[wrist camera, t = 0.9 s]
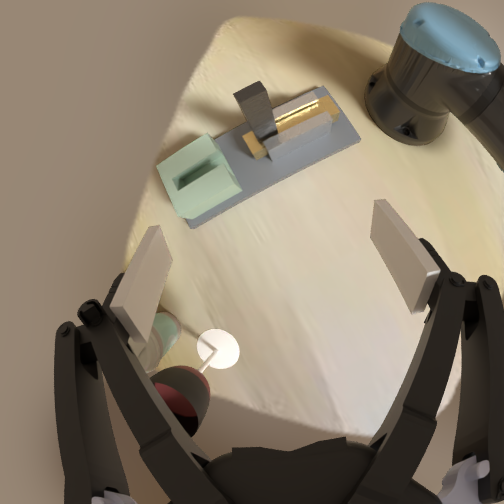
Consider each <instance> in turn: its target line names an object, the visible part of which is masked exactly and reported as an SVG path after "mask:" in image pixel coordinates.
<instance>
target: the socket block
mask: <svg viewBox="0 0 504 504" xmlns="http://www.w3.org/2000/svg"><path fill="white" fill-rule="evenodd" d="M156 167H157V170H158V172H159V174H160V177H161V179H162V181H163V184H164V186H165V188H166V191H167V193H168V195H169V197H170V200H171V202H172V204H173V206H174V209H175V211H176V213H177V215H178V217H182V218H187V219H194V218H196V217H198V216H199V215H201V214H203V213H204V212H206V211H208V210H210V209H211V208H213V207H215V206H216V205H218V204H220V203H222V202H223V201H225V200H227V199H229V198H231V197H232V196H234V195H236V194H238V193H239V192H241V191H243V190H242V188H241V186H240V184H239V183H238V181H237V179H236V177H235V175H234V173H233V171H232V169H231V167H230V166H229V164H228V162H227V160H226V158H225V156H224V154H223V153H222V151H221V149H220V147H219V145H218V144H217V143H216V142H215V141H214V140H213V138H212V137H211V136H210V135H209V134H208V133H206V134H204V135H203V136H201V137H199V138H198V139H196V140H195V141H193V142H191V143H190V144H188V145H187V146H185V147H183V148H182V149H180V150H179V151H177V152H176V153H174V154H173V155H171V156H170V157H168V158H167V159H165V160H164V161H162V162H161V163H160V164H158V165H157V166H156Z"/></svg>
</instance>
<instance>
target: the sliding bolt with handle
mask: <svg viewBox="0 0 504 504" xmlns="http://www.w3.org/2000/svg"><path fill="white" fill-rule="evenodd" d="M233 95H234V97H235V99H236V101H237V103H238V105H239V107H240V108H241V110H242V112H243V114H244V116H245V118H246V120H247V122H248V124H249V126H250V128H251V130H252V131H251V132H249V133H247V134H245V135H243V136H242V137H243V138H244V140H245V142H246V144H247V145H248V147H249V149H250V150H251V152H252V154H253V156H254V157H255V159H256V160H259V159H260V158H262V157H264V156H266V155H268V154H269V153H268V151H267V149H266V147H265V145H264V144H263V141H265V140H267V139H269V138H271V137H273V136H275V135H277V134H279V133H281V132H283V131H285V130H287V129H289V128H291V127H293V126H295V125H297V124H299V123H301V122H304V121H306V120H308V119H310V118H312V117H314V116H317V115H319V114H321V113H323V112H326V111H328V113H329V114H330V116H331V117H332V119H333V121H332V123H334V122H336V121H338V118H339V114H340V110H339V109H338V108H337V106H336V105H335V104H334V102H333V101H332V99H331V98H330V97H329V95H326V96H324V97H322V98H319V99H318V101H317V102H315V103H313V104H310V105H308V106H306V107H304V108H302V109H299V110H297V111H295V112H293V113H291V114H289V115H287V116H284V117H282V118H280V119H278V120H276V121H275V119H274V115H273V112H272V108H271V104H270V101H269V97H268V94H267V90H266V89H265V87H264V86H263V84H262V83H261V82H260V81H258V82H256V83H253V84H251V85H249V86H247V87H245V88H243V89H242V90H240V91H238V92H236V93H234V94H233Z"/></svg>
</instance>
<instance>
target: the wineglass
mask: <svg viewBox="0 0 504 504" xmlns="http://www.w3.org/2000/svg"><path fill="white" fill-rule="evenodd" d="M197 350H198V353H199V355H200V357H201V359H202V360H203V361H204V363H203V364H202V365H201V366H200V367H199V369H198V370H196V369H194V368H192V367H188V366H174V367H169V368H167V369H164V370H162V371H160V372H158V373H157V374H155V375H153V376H152V377H151V378H150V380H151V382H152V383H153V385H154V386H155V388H156V389H157V391H158V393H159V394H160V396H161V397H162V399H163V400H164V402H165V403H166V405H167V406H168V407H169V409H170V410H171V412H172V413H173V415H174V416H175V417H176V419H177V420H178V421H179V423H180V424H181V426H182V427H183V428H184V429H185V431H186V432H187V433H188V435H189V436H190V437H192V436H193V435H194V434H195V433H196V432H197V430H198V428H199V427H200V425H201V423H202V420H203V419H204V417H205V414H206V412H207V409H208V406H209V401H210V387H209V384H208V382H207V380H206V378H205V377H204V375H203V374H202V372H203V371H204V370H205V368H206V367H207V366H208V365H209V366H211V367H214V368H217V369H225V368H229V367H231V366H232V365H234V364H235V363H236V361H237V360H238V357H239V346H238V344H237V342H236V340H235V339H234V338H233V336H232V335H230V334H229V333H227V332H226V331H223V330H220V329H210V330H207V331H205V332H204V333H202V334H201V335H200V337H199V339H198V342H197Z"/></svg>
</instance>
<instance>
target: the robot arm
mask: <svg viewBox="0 0 504 504" xmlns="http://www.w3.org/2000/svg"><path fill="white" fill-rule="evenodd" d="M365 103H366V107H367V109H368V112H369V114H370V116H371V117H372V119H373V120H374V122H375V123H376V124H377V125H378V126H379V127H380V128H381V129H382V130H383V131H384V132H385V133H386V134H387V135H389V136H390V137H392V138H393V139H395V140H397V141H399V142H402V143H404V144H408V145H414V146H421V145H426V144H428V143H430V142H432V141H433V140H435V139H436V138H437V137H438V136H439V135H440V134H441V133H442V132H443V130H444V128H445V125H446V122H447V119H448V115H449V112H451V113H452V114H453V115H454V116H456V117H457V118H458V119H459V120H460V121H461V122H462V123H463V125H464V126H465V127H466V128H467V129H468V130H469V131H470V132H471V133H472V134H473V135H474V136H475V137H476V138H477V140H478V141H479V142H480V143H481V144H482V145H483V146H484V148H485V149H486V150H487V151H488V152H489V153H490V155H491V156H492V157H493V158H494V160H495V161H496V163H497V165H498V167H499V168H500V169H501V171H503V172H504V65H503V64H502V63H501V54H500V50H499V48H498V46H497V44H496V42H495V41H494V40H493V39H492V38H490V35H489V33H488V32H487V31H486V30H485V29H484V28H483V27H482V26H481V25H480V24H479V23H477V22H476V21H475V20H473V19H472V18H471V17H469V16H467V15H466V14H464V13H462V12H461V11H459V10H456V9H454V8H452V7H449V6H446V5H443V4H437V3H432V2H425V3H420V4H417V5H415V6H414V7H412V8H411V10H410V11H409V13H408V15H407V17H406V19H405V21H404V22H403V23H402V24H401V26H400V33H399V36H398V38H397V41H396V43H395V46H394V48H393V51H392V53H391V56H390V58H389V61H388V63H386V64H385V65H384V66H382V67H381V68H379V69H378V70H377V71H375V72H374V73H373V74H372V76H371V77H370V79H369V81H368V83H367V86H366V89H365ZM370 238H371V240H372V241H373V243H374V245H375V246H376V248H377V250H378V252H379V253H380V255H381V257H382V259H383V260H384V262H385V264H386V266H387V268H388V269H389V271H390V273H391V275H392V277H393V279H394V281H395V282H396V284H397V286H398V288H399V290H400V292H401V294H402V296H403V298H404V300H405V302H406V304H407V306H408V308H409V310H410V312H411V314H415V313H420V312H424V310H425V308H426V305H427V303H428V305H429V307H430V311H429V313H428V315H427V317H426V319H425V321H424V323H425V326H424V329H423V332H422V335H421V338H420V341H419V344H418V346H417V349H416V352H415V354H414V357H413V359H412V362H411V364H410V367H409V369H408V372H407V374H406V376H405V379H404V381H403V383H402V385H401V388H400V390H399V392H398V394H397V396H396V398H395V400H394V402H393V404H392V406H391V408H390V410H389V412H388V414H387V416H386V418H385V420H384V422H383V423H382V425H381V427H380V428H379V430H378V431H377V433H376V434H375V435H374V437H373V438H372V440H371V441H370V443H369V445H368V446H367V445H364V444H362V443H358V442H352V441H346V437H340V438H336V439H330V440H324V441H318V442H315V443H313V444H310V445H307V446H305V447H302V448H299V449H297V450H294V451H281V450H274V449H268V448H262V447H250V448H249V447H246V448H232V452H230V453H227V454H224V455H221V456H219V457H217V458H215V459H214V460H211V459H210V458H209V457H208V456H207V455H206V454H205V453H204V452H203V451H202V450H201V449H200V448H199V447H198V446H197V445H196V444H195V442H194V441H193V440H192V439H191V437H190V436H189V435H188V433H187V432H186V431H185V429H184V428H183V427H182V426H181V424H180V423H179V421H178V420H177V419H176V417H175V416H174V415H173V413H172V412H171V410H170V409H169V407H168V406H167V405H166V403H165V402H164V400H163V399H162V397H161V396H160V394H159V393H158V391H157V389H156V388H155V386H154V385H153V383H152V382H151V380H150V378H149V377H148V375H147V373H146V372H145V370H144V368H143V367H142V365H141V363H140V362H139V360H138V358H137V356H136V355H135V353H134V351H133V349H132V347H131V346H130V344H129V343H128V340H129V337H131V338H132V340H133V341H134V342H135V343H148V339H149V335H150V332H151V328H152V325H153V321H154V318H155V314H156V311H157V307H158V304H159V301H160V298H161V294H162V291H163V288H164V285H165V282H166V279H167V276H168V272H169V269H170V266H171V263H172V257H171V254H170V252H169V249H168V246H167V244H166V241H165V238H164V236H163V233H162V230H161V227H160V225H157V226H151V227H148V229H147V231H146V233H145V235H144V237H143V238H142V240H141V242H140V244H139V246H138V248H137V250H136V252H135V254H134V256H133V258H132V260H131V262H130V264H129V266H128V268H127V270H126V272H125V273H120V274H119V276H118V277H117V278H116V279H115V280H114V282H113V284H112V286H111V287H112V288H110V290H109V294H108V295H107V297H106V299H105V301H104V303H103V305H102V306H101V304H100V303H99V302H98V300H95V299H91V300H88V301H86V302H85V303H84V304H82V305H81V307H80V308H79V310H78V312H77V313H78V314H77V315H78V317H79V319H80V320H81V321H82V323H83V324H84V325H81V326H78V327H76V326H75V325H74V323H73V322H70V321H68V322H65V323H63V324H62V325H61V326H60V327H59V328H58V330H57V332H56V339H55V357H54V394H55V412H56V424H57V433H58V441H59V448H60V454H61V460H62V465H63V470H64V475H65V489H64V504H137V503H136V502H135V500H134V499H133V498H131V497H130V494H129V488H128V483H127V480H126V476H125V473H124V470H123V467H122V463H121V460H120V457H119V454H118V450H117V446H116V443H115V438H114V434H113V430H112V426H111V421H110V417H109V412H108V407H107V401H106V396H105V389H104V383H103V376H102V371H103V374H104V376H105V378H106V381H107V383H108V385H109V387H110V389H111V392H112V394H113V396H114V398H115V400H116V402H117V404H118V406H119V408H120V410H121V412H122V414H123V416H124V418H125V420H126V422H127V424H128V425H129V427H130V429H131V431H132V433H133V435H134V436H135V438H136V440H137V441H138V443H139V445H140V450H139V453H140V456H141V457H142V459H143V461H144V462H145V464H146V466H147V467H148V469H149V470H150V472H151V473H152V475H153V476H154V478H155V479H156V481H157V482H158V483H159V485H160V486H161V488H162V489H163V490H164V492H165V493H166V494H167V496H168V497H169V498H170V499H171V501H170V502H169V503H168V504H492V503H497V502H500V501H503V500H504V309H503V304H502V300H501V296H500V292H499V288H498V285H497V283H496V281H495V280H494V279H493V278H491V277H490V276H487V275H482V276H480V277H479V279H478V281H477V283H476V282H466V280H465V278H464V277H463V276H462V275H460V274H458V273H456V272H451V271H450V269H449V268H448V267H447V265H446V264H445V262H444V261H443V260H442V258H441V257H440V256H439V254H438V253H437V252H436V251H435V249H434V248H433V246H432V245H431V244H430V243H429V242H428V241H426V240H425V239H423V238H420V239H418V238H417V237H416V236H415V234H414V233H413V232H412V231H411V229H410V228H409V227H408V226H407V224H406V223H405V222H404V221H403V219H402V218H401V217H400V216H399V215H398V213H397V212H396V211H395V210H394V209H393V208H392V206H391V205H390V204H389V203H388V202H387V201H386V199H381V200H374V209H373V218H372V227H371V235H370ZM460 330H461V349H462V370H461V393H460V406H459V415H458V422H457V430H456V436H455V442H454V449H453V459H452V467H451V468H450V469H449V471H448V472H447V474H446V475H445V477H444V478H443V480H442V485H443V487H442V490H441V491H440V492H439V493H438V495H437V496H436V495H435V494H434V493H432V492H431V491H429V490H428V489H426V488H425V487H424V486H422V485H421V484H419V483H418V482H416V481H415V480H414V479H412V477H413V475H414V473H415V471H416V469H417V467H418V465H419V464H420V461H421V459H422V457H423V456H424V454H425V452H426V449H427V447H428V445H429V443H430V441H431V438H432V436H433V434H434V431H435V429H436V426H437V421H436V419H435V417H436V414H437V411H438V408H439V406H440V403H441V400H442V397H443V394H444V391H445V388H446V385H447V382H448V379H449V375H450V372H451V368H452V365H453V361H454V357H455V353H456V349H457V344H458V340H459V335H460Z"/></svg>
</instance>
